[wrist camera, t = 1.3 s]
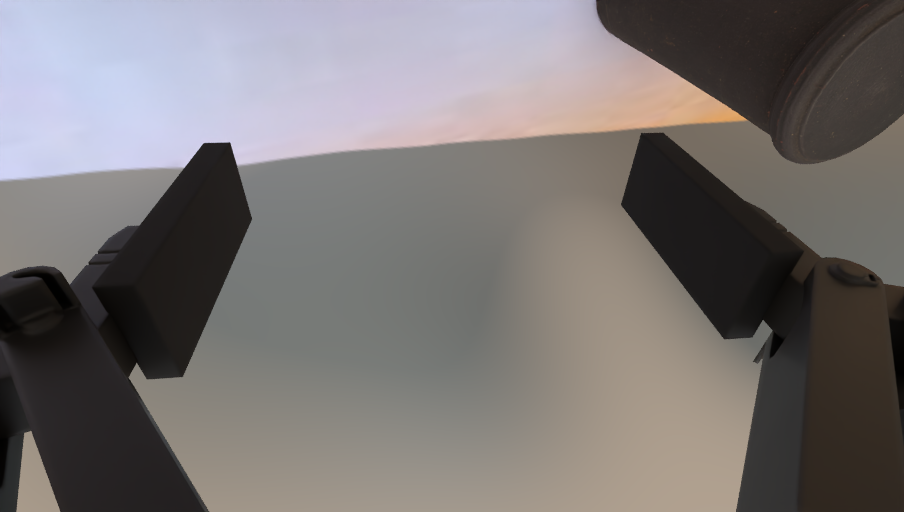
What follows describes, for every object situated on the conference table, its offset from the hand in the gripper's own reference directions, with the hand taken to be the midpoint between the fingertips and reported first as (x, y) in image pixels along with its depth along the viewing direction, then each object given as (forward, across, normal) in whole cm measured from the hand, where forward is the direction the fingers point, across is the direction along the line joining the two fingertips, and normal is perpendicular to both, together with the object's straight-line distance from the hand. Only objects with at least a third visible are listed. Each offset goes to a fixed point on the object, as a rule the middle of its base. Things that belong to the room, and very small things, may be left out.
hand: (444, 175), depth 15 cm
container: (+26, +18, +3) cm, 31 cm away
